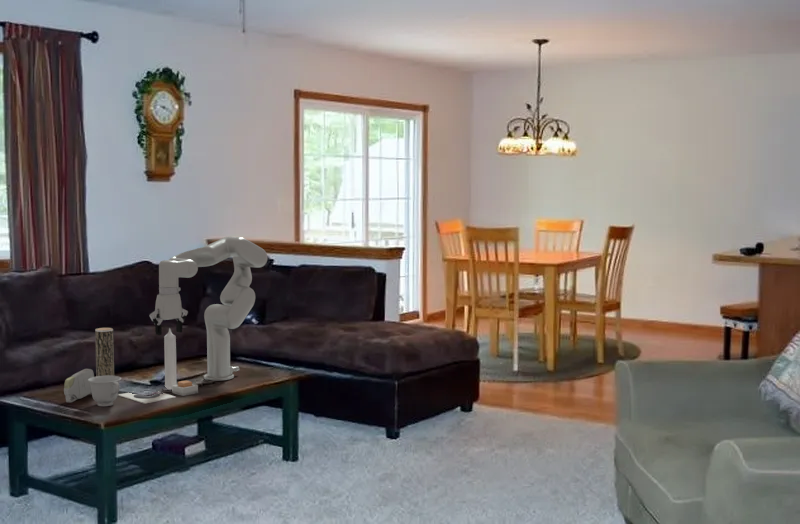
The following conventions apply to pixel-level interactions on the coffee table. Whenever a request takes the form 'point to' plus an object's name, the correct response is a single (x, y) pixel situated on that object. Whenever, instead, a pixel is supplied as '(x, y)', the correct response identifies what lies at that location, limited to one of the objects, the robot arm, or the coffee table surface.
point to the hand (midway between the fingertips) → (169, 333)
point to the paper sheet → (146, 397)
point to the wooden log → (104, 351)
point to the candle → (170, 359)
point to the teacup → (104, 389)
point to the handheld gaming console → (78, 385)
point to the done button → (185, 383)
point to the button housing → (185, 390)
